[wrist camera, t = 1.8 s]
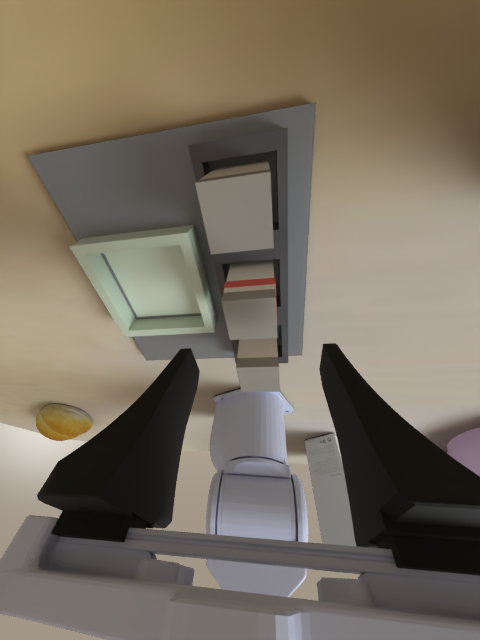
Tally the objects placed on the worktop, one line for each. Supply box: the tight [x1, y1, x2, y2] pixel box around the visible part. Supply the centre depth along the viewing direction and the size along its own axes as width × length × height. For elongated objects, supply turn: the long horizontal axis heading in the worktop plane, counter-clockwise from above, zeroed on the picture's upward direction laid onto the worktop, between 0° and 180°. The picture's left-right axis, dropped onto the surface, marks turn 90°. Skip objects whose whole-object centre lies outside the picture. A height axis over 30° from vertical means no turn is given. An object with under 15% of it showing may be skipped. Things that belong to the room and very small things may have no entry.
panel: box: [27, 103, 316, 364], centre depth 20 cm, size 19×21×3 cm
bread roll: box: [36, 404, 93, 441], centre depth 40 cm, size 8×9×4 cm
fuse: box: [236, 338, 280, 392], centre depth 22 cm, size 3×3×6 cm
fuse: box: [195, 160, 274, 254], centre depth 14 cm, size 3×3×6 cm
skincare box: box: [305, 434, 356, 546], centre depth 35 cm, size 8×6×15 cm
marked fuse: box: [221, 259, 278, 340], centre depth 18 cm, size 4×4×6 cm
